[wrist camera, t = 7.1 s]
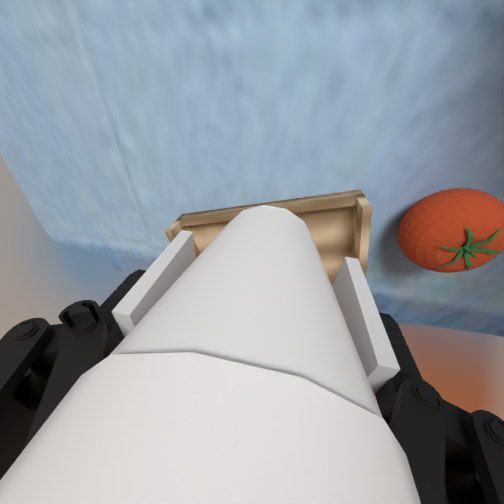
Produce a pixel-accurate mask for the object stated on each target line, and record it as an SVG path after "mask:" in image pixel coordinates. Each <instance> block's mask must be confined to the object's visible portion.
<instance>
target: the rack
mask: <svg viewBox="0 0 504 504" xmlns="http://www.w3.org/2000/svg"><path fill="white" fill-rule="evenodd" d="M262 205H268V206H273V207H279V208H284V209H287V210H289V211H290V212H291V213H293V214H294V215H296V216H297V217H299V218H300V219H301V220H303V221H304V222H305V224H306V226H307V228H308V230H309V232H310V234H311V236H312V238H313V240H314V242H315V244H316V247H317V249H318V252H319V255H320V257H321V260H322V262H323V265H324V267H325V270H326V273H327V275H328V278H329V280H330V283H331V285H332V286H333V284H334V281H335V279H336V277H337V274H338V272H339V270H340V267H341V265H342V263H343V260H344V258H345V257H350V258H356V259H358V260H359V263H360V266H361V268H362V271H363V273H364V276H365V279H366V269H367V259H368V248H369V238H370V227H371V217H372V207H371V205H370V203H369V202H368V200H367V199H366V197H365V195H364V194H363V192H362V191H361V190H354V191H347V192H340V193H333V194H325V195H318V196H311V197H304V198H296V199H289V200H282V201H275V202H267V203H260V204H253V205H246V206H238V207H231V208H224V209H217V210H209V211H202V212H195V213H188V214H182V215H181V216H180V217H179V218H178V219H177V220H176V221H175V222H174V223H173V224H172V225H171V226H170V227H169V228H168V229H167V230H166V231H165V233H166V235H167V237H168V239H169V241H170V243H171V242H172V241H173V239H174V238H175V237H176V236H177V235H178V234H179V232H180V231H181V230H185V231H191V232H193V237H194V249H195V259H196V258H197V257H198V256H199V255H200V254H201V253H202V252H203V251H204V249H205V248H206V247H207V246H208V245H209V244H210V243H211V242H212V241H213V239H214V238H215V237H216V236H217V235H218V234H219V233H220V232H221V231H222V229H223V228H224V227H225V226H226V225H227V224H229V222H230V221H231V220H233V219H234V218H235V217H236V216H237V215H238V214H239V213H241V212H242V211H243V210H246V209H250V208H254V207H258V206H262Z"/></svg>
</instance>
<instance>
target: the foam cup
mask: <svg viewBox="0 0 504 504" xmlns="http://www.w3.org/2000/svg"><path fill="white" fill-rule="evenodd" d="M0 504H421V502H420V499H419V495H418V492H417V489H416V486H415V482H414V479H413V476H412V473H411V469H410V466H409V463H408V460H407V456H406V454H405V452H404V451H403V449H402V447H401V446H400V444H399V443H398V441H397V439H396V438H395V436H394V435H393V433H392V431H391V430H390V428H389V427H388V425H387V423H386V422H385V420H384V419H383V417H382V414H381V412H380V409H379V407H378V404H377V401H376V399H375V397H374V394H373V391H372V389H371V386H370V383H369V381H368V378H367V376H366V373H365V370H364V368H363V365H362V363H361V360H360V358H359V355H358V352H357V350H356V347H355V345H354V342H353V340H352V337H351V334H350V332H349V329H348V327H347V324H346V322H345V319H344V316H343V314H342V311H341V309H340V306H339V303H338V301H337V298H336V296H335V293H334V291H333V288H332V285H331V283H330V280H329V278H328V275H327V273H326V270H325V267H324V265H323V262H322V260H321V257H320V255H319V252H318V249H317V247H316V244H315V242H314V240H313V238H312V236H311V234H310V232H309V230H308V228H307V226H306V224H305V222H304V221H303V220H301V219H300V218H299V217H297V216H296V215H294V214H293V213H291V212H290V211H289V210H287V209H284V208H279V207H273V206H268V205H262V206H258V207H254V208H250V209H246V210H243V211H242V212H241V213H239V214H238V215H237V216H236V217H235V218H234V219H233V220H231V221H230V222H229V224H227V225H226V226H225V227H224V228H223V229H222V231H221V232H220V233H219V234H218V235H217V236H216V237H215V238H214V239H213V241H212V242H211V243H210V244H209V245H208V246H207V247H206V248H205V249H204V251H203V252H202V253H201V254H200V255H199V256H198V257H197V258H196V259H195V261H194V262H193V263H192V264H191V265H190V266H189V267H188V268H187V269H186V271H185V272H184V273H183V274H182V275H181V276H180V277H179V278H178V279H177V280H176V282H175V283H174V284H173V285H172V286H171V287H170V288H169V289H168V290H167V292H166V293H165V294H164V295H163V296H162V297H161V298H160V299H159V300H158V302H157V303H156V304H155V305H154V306H153V307H152V308H151V309H150V310H149V312H148V313H147V314H146V315H145V316H144V317H143V318H142V319H141V320H140V322H139V323H138V324H137V325H136V326H135V327H134V328H133V329H132V330H131V332H130V333H129V334H128V335H127V336H126V337H125V338H124V339H123V340H122V341H121V343H120V344H119V345H118V346H117V347H116V348H115V349H114V350H113V351H112V353H111V354H110V355H109V356H108V357H107V358H105V359H104V360H102V361H101V362H99V363H98V364H97V365H95V366H94V367H92V368H91V369H89V370H88V371H87V372H85V373H84V374H82V375H81V376H80V377H79V379H78V380H77V381H76V383H75V384H74V385H73V387H72V388H71V389H70V390H69V392H68V393H67V394H66V396H65V397H64V398H63V400H62V401H61V402H60V403H59V405H58V406H57V407H56V409H55V410H54V411H53V412H52V414H51V415H50V416H49V418H48V419H47V420H46V422H45V423H44V424H43V425H42V427H41V428H40V429H39V431H38V432H37V433H36V435H35V436H34V437H33V438H32V440H31V441H30V442H29V444H28V445H27V446H26V448H25V449H24V450H23V451H22V453H21V454H20V455H19V457H18V458H17V459H16V461H15V462H14V463H13V464H12V466H11V467H10V468H9V470H8V471H7V472H6V473H5V475H4V476H3V477H2V479H1V480H0Z"/></svg>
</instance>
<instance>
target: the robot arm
mask: <svg viewBox="0 0 504 504" xmlns="http://www.w3.org/2000/svg"><path fill="white" fill-rule="evenodd" d="M194 261H195V249H194V237H193V232H191V231H185V230H181V231H180V232H179V234H178V235H177V236H176V237H175V238H174V239H173V241H172V242H171V243H170V244H169V245H168V246H167V248H166V249H165V250H164V251H163V252H162V253H161V255H160V256H159V257H158V258H157V259H156V260H155V262H154V263H153V264H152V265H151V266H150V267H149V269H148V270H147V271H145V270H137V271H135V272H134V273H132V274H130V275H129V276H128V277H127V278H126V279H125V280H124V281H123V283H122V284H120V286H119V287H118V288H117V290H115V291H114V292H113V293H112V294H111V295H110V296H109V297H108V298H107V299H106V301H105V302H104V303H103V304H102V305H101V306H100V307H99V305H98V304H97V303H96V302H95V301H91V300H83V301H79V302H75V303H73V304H71V305H70V306H68V307H66V308H65V309H64V310H63V311H62V312H61V313H60V315H59V316H58V317H59V319H60V320H61V321H62V323H63V324H57V325H50V324H49V323H48V322H47V321H46V320H45V319H43V318H33V319H29V320H26V321H23V322H21V323H19V324H17V325H16V326H14V327H13V328H12V329H10V330H9V331H8V332H7V333H6V334H5V335H4V337H3V338H2V339H1V340H0V480H1V479H2V477H3V476H4V475H5V473H6V472H7V471H8V470H9V468H10V467H11V466H12V464H13V463H14V462H15V461H16V459H17V458H18V457H19V455H20V454H21V453H22V451H23V450H24V449H25V448H26V446H27V445H28V444H29V442H30V441H31V440H32V438H33V437H34V436H35V435H36V433H37V432H38V431H39V429H40V428H41V427H42V425H43V424H44V423H45V422H46V420H47V419H48V418H49V416H50V415H51V414H52V412H53V411H54V410H55V409H56V407H57V406H58V405H59V403H60V402H61V401H62V400H63V398H64V397H65V396H66V394H67V393H68V392H69V390H70V389H71V388H72V387H73V385H74V384H75V383H76V381H77V380H78V379H79V377H80V376H81V375H82V374H84V373H85V372H87V371H88V370H89V369H91V368H92V367H94V366H95V365H97V364H98V363H99V362H101V361H102V360H104V359H105V358H107V357H108V356H109V355H110V354H111V353H112V351H113V350H114V349H115V348H116V347H117V346H118V345H119V344H120V343H121V341H122V340H123V339H124V338H125V337H126V336H127V335H128V334H129V333H130V332H131V330H132V329H133V328H134V327H135V326H136V325H137V324H138V323H139V322H140V320H141V319H142V318H143V317H144V316H145V315H146V314H147V313H148V312H149V310H150V309H151V308H152V307H153V306H154V305H155V304H156V303H157V302H158V300H159V299H160V298H161V297H162V296H163V295H164V294H165V293H166V292H167V290H168V289H169V288H170V287H171V286H172V285H173V284H174V283H175V282H176V280H177V279H178V278H179V277H180V276H181V275H182V274H183V273H184V272H185V271H186V269H187V268H188V267H189V266H190V265H191V264H192V263H193V262H194ZM332 288H333V291H334V293H335V296H336V298H337V301H338V303H339V306H340V309H341V311H342V314H343V316H344V319H345V322H346V324H347V327H348V329H349V332H350V334H351V337H352V340H353V342H354V345H355V347H356V350H357V352H358V355H359V358H360V360H361V363H362V365H363V368H364V370H365V373H366V376H367V378H368V381H369V383H370V386H371V389H372V391H373V394H374V395H375V396H376V399H377V403H378V407H379V409H380V412H381V414H382V417H383V419H384V420H385V422H386V423H387V425H388V427H389V428H390V430H391V431H392V433H393V435H394V436H395V438H396V439H397V441H398V443H399V444H400V446H401V447H402V449H403V451H404V452H405V454H406V456H407V460H408V463H409V466H410V469H411V473H412V476H413V479H414V482H415V486H416V489H417V492H418V495H419V499H420V502H421V504H504V421H503V420H502V419H500V418H499V417H498V416H496V415H494V414H492V413H490V412H488V411H484V410H477V411H474V412H472V413H469V412H467V411H465V410H463V409H461V408H459V407H457V406H455V405H453V404H450V403H449V402H447V401H445V400H443V399H442V398H441V396H440V394H439V393H438V392H437V391H436V390H435V389H434V387H433V386H431V385H430V384H429V383H427V382H426V381H424V380H423V379H422V377H421V375H420V372H419V370H418V368H417V366H416V364H415V361H414V359H413V357H412V355H411V352H410V350H409V348H408V346H407V345H406V341H405V339H404V337H403V336H402V332H401V330H400V328H399V326H398V324H397V323H396V321H395V320H394V319H393V318H392V317H391V316H390V315H389V314H384V313H379V312H378V310H377V307H376V305H375V302H374V299H373V297H372V294H371V292H370V289H369V286H368V284H367V281H366V279H365V276H364V273H363V271H362V268H361V266H360V263H359V260H358V259H356V258H350V257H345V258H344V260H343V263H342V265H341V267H340V270H339V272H338V274H337V277H336V279H335V281H334V284H333V286H332Z"/></svg>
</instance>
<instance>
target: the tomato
mask: <svg viewBox="0 0 504 504" xmlns="http://www.w3.org/2000/svg"><path fill="white" fill-rule="evenodd" d="M398 240H399V244H400V246H401V249H402V251H403V252H404V254H405V255H406V256H407V257H408V258H409V259H410V260H411V261H412V262H414V263H415V264H417V265H419V266H421V267H423V268H425V269H428V270H432V271H437V272H446V273H449V272H461V271H466V270H467V271H468V270H470V269H474V268H477V267H479V266H481V265H484V264H485V263H487V262H489V261H491V260H492V259H493V258H495V257H496V256H497V255H498V254H499V253H503V252H502V250H503V249H504V204H503V203H502V202H500V201H499V200H498V199H497V198H495V197H494V196H492V195H490V194H488V193H485V192H482V191H479V190H474V189H449V190H443V191H440V192H437V193H434V194H431V195H429V196H427V197H425V198H423V199H421V200H420V201H418V202H417V203H416V204H414V205H413V206H412V207H411V208H410V209H409V210H408V211H407V212H406V214H405V215H404V217H403V219H402V220H401V223H400V225H399V230H398Z"/></svg>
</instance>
